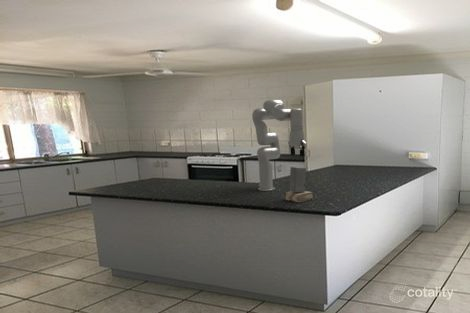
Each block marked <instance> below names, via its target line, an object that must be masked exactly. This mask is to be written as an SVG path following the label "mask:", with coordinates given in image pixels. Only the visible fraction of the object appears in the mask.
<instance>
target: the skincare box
mask: <svg viewBox="0 0 470 313" xmlns="http://www.w3.org/2000/svg"><path fill="white" fill-rule="evenodd" d="M289 174H290V175H289V191H288V192H291V191H292V192H295V193H298V192H305V191H306V180H307V179H306V178H307V167H302V166H290V170H289Z"/></svg>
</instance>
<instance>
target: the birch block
mask: <svg viewBox="0 0 470 313" xmlns="http://www.w3.org/2000/svg"><path fill="white" fill-rule="evenodd" d="M313 197H314V196H313V192H312V191H307V190H305V192H298V193H295V192H292V191H287V192H285V200H286V201H290V200H291V202H295V203H303V202H307V201H311V199H312V200H313V199H314V198H313Z"/></svg>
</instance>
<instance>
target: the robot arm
mask: <svg viewBox="0 0 470 313" xmlns="http://www.w3.org/2000/svg"><path fill="white" fill-rule="evenodd" d="M251 116H252V121H253V125H254V128H255V134H256V135H255V136H256V141H257V144H258V145H260V146H262V147H260V148H258V149H257V151H256V156H257V160H258V171H259V172H258V173H259V183H258V186H259V187H257V190H258V191H262V192H270V191H274V190H275V189H276V187H275V186H274V183H273V182H274V181H273V179H274V178H273V165H272V163H271V161H270V160H277V159H279V158H280V157H281V147H280V141H279V140H280V139H279V136H278V134H277V133H276V132H275V131H268V126H267V124H266V122H264V120H265V121H266V120H277V121H278V122H288V121H289V123H290V131H289V141H288V142H287V144H288V146H289V151H290V156H295V155H296V148H297V147H299V156H300V157H305V155H306V154H305V152H306V151H305V150H306V147H307V142H306V141H305V137H304V136H305V134H304V129H303V128H304V127H303V122H304V121H303V110H302V108H285V103H284V102H283V101H282V100H281V99H267V100H266V101H264V103H263V105H262V107H260V108H256V109H253V112H252V115H251Z"/></svg>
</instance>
